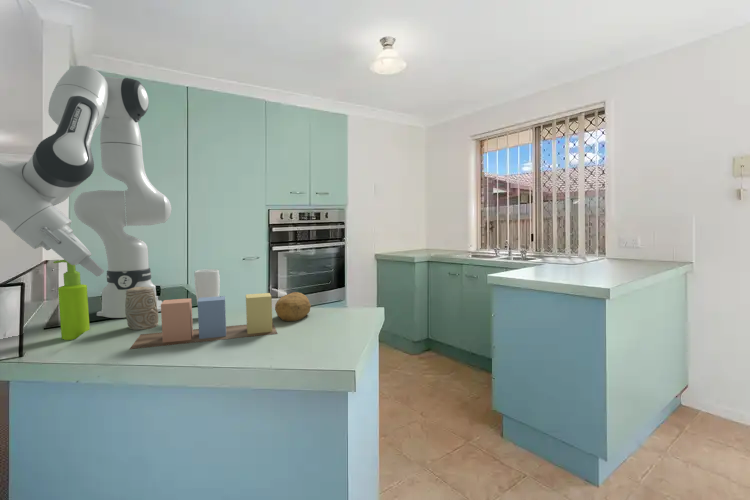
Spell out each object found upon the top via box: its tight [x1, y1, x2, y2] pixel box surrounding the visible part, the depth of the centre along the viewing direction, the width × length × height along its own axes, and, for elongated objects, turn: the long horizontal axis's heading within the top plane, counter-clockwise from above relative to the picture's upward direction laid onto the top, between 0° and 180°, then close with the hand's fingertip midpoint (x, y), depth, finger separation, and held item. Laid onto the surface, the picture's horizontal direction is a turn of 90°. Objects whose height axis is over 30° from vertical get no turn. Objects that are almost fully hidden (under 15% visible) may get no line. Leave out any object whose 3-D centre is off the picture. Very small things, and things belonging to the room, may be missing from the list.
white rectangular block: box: [194, 268, 221, 305], centre depth 117 cm, size 7×7×15 cm
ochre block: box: [245, 292, 273, 334], centre depth 101 cm, size 5×6×9 cm
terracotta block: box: [160, 298, 194, 343], centre depth 95 cm, size 5×6×9 cm
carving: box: [125, 287, 159, 331], centre depth 106 cm, size 6×8×12 cm
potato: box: [274, 291, 312, 322], centre depth 115 cm, size 10×14×8 cm
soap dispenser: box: [52, 259, 91, 341], centre depth 102 cm, size 6×7×20 cm
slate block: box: [197, 295, 227, 339], centre depth 98 cm, size 5×6×9 cm
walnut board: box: [129, 321, 278, 350], centre depth 99 cm, size 12×32×2 cm, turn 110°
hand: (101, 274), depth 90 cm, fingers closed
